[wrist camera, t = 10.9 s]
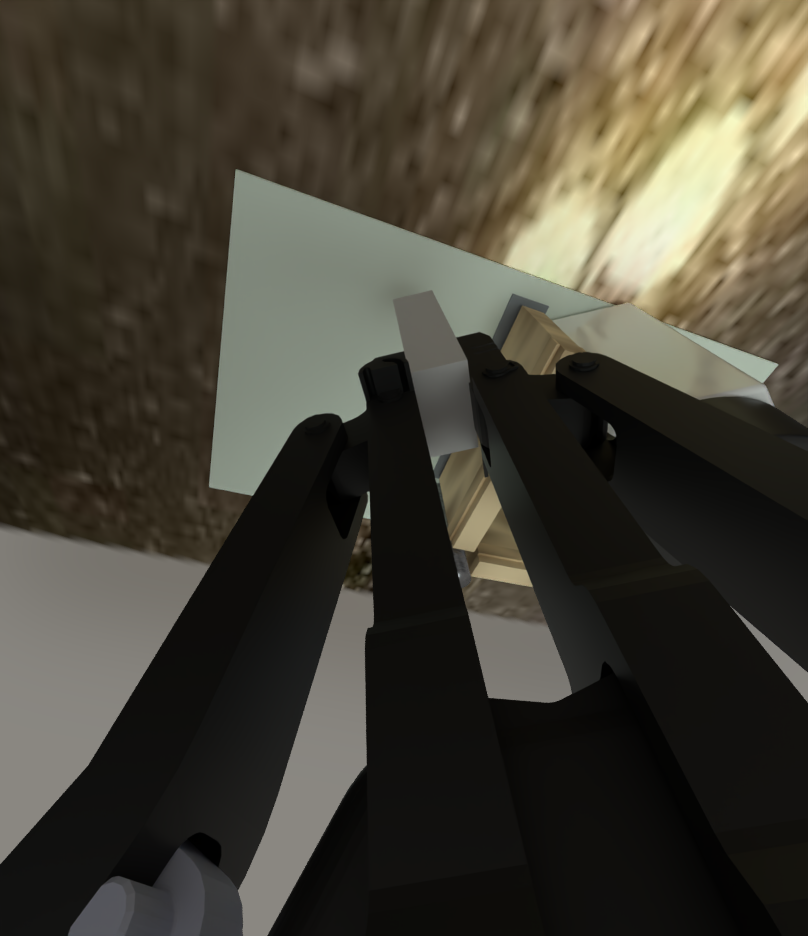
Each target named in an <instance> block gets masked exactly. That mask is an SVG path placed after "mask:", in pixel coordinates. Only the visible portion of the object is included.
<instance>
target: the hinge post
mask: <svg viewBox="0 0 808 936" xmlns="http://www.w3.org/2000/svg"><path fill="white" fill-rule="evenodd" d="M437 487H438V491H439V495H440V500H441V504H442V508H443V512H444V517H445V521H446V525H447V528H448V521H447V516H446V511H445V506H444V501H443V496H442V491H441V486H440V483H437ZM450 542H451V546H452V541H450ZM452 551H453V555H454V559H455V563H456V567H457V572H458V576H459V580H460V584H461V588H463V587H465V586H467V585H468V584H469V583H470V581H471V576H470V571H469V567H468V562H467V558H466V554H465V550H461V549H456V548H453V546H452Z"/></svg>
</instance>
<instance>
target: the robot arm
mask: <svg viewBox="0 0 808 936" xmlns="http://www.w3.org/2000/svg"><path fill="white" fill-rule="evenodd" d="M393 303H394V308H395V312H396V317H397V321H398V326H399V331H400V335H401V340H402V344H403V349H404V351H402V352H398V353H394V354H389V355H385V356H381V357H377V358H374V360H373V361H371V362H369V363H367V364H365V365H364V366H363V367H361V368H360V370H359V372H358V376H359V379H360V383H361V386H362V389H363V393H364V396H365V399H366V411H365V412H364V413H362V414H361V415H359V416H358V417H356V418H354V419H352V420H349V421H347V422H344V423H343V422H342V419H341V418H340V416H339V415H336V414H333V413H323V414H316V415H312V417H311V416H310V417H308V418H306V419H305V420H304V421H302V422H300V423H299V424H298V425H297V426H296V427H295V428H294V429H293V431H292V432H291V434H290V436H289V437H288V439H287V441H286V442H285V444H284V446H283V447H282V449H281V451H280V452H279V454H278V455H277V457H276V459H275V460H274V462H273V464H272V465H271V467H270V469H269V470H268V472H267V473H266V475H265V477H264V478H263V480H262V482H261V483H260V485H259V487H258V488H257V490H256V491H255V493H254V495H253V496H252V498H251V500H250V501H249V503H248V505H247V506H246V508H245V509H244V511H243V513H242V514H241V516H240V518H239V519H238V521H237V523H236V524H235V526H234V528H233V529H232V531H231V532H230V534H229V536H228V537H227V539H226V541H225V542H224V544H223V546H222V547H221V549H220V550H219V552H218V554H217V555H216V557H215V559H214V560H213V562H212V564H211V565H210V567H209V568H208V570H207V572H206V573H205V575H204V577H203V578H202V580H201V582H200V583H199V585H198V586H197V588H196V590H195V591H194V593H193V595H192V596H191V598H190V600H189V601H188V603H187V605H186V606H185V608H184V610H183V611H182V613H181V614H180V616H179V618H178V619H177V621H176V623H175V624H174V626H173V627H172V629H171V631H170V632H169V634H168V636H167V638H166V639H165V641H164V642H163V644H162V646H161V647H160V649H159V650H158V652H157V654H156V655H155V657H154V659H153V660H152V662H151V664H150V665H149V667H148V669H147V670H146V672H145V673H144V675H143V677H142V678H141V680H140V682H139V683H138V685H137V686H136V688H135V690H134V691H133V693H132V695H131V696H130V698H129V700H128V701H127V703H126V704H125V706H124V708H123V709H122V711H121V713H120V715H119V716H118V718H117V719H116V721H115V722H114V724H113V726H112V727H111V729H110V731H109V732H108V734H107V736H106V737H105V739H104V741H103V742H102V744H101V746H100V747H99V749H98V751H97V752H96V754H95V755H94V757H93V759H92V760H91V762H90V763H89V765H88V766H87V767H86V769H85V770H84V771H83V772H82V773H81V774H80V775H79V777H78V778H77V779H76V780H75V781H74V782H73V783H72V785H70V787H69V788H68V789H67V790H66V791H65V792H64V793H63V794H62V796H61V797H60V798H59V799H58V800H57V801H56V802H55V803H54V805H53V806H52V807H51V808H50V809H49V810H48V812H46V814H45V815H44V816H43V817H42V818H41V819H40V820H39V822H38V823H37V824H36V825H35V826H34V827H33V828H32V829H31V831H30V832H29V833H28V834H27V835H26V836H25V837H24V838H23V840H22V841H21V842H20V843H19V844H18V845H17V846H16V847H15V849H14V850H13V851H12V852H11V853H10V854H9V855H8V856H7V858H6V859H5V860H4V861H3V862H2V863H1V864H0V936H243V934H242V933H243V932H242V928H243V917H242V903H241V900H240V896H239V893H238V889H239V887H240V885H241V883H242V881H243V880H244V878H245V876H246V874H247V871H248V869H249V867H250V865H251V862H252V860H253V858H254V855H255V853H256V851H257V849H258V846H259V844H260V842H261V840H262V837H263V835H264V833H265V830H266V827H267V824H268V821H269V818H270V815H271V813H272V810H273V807H274V804H275V801H276V798H277V796H278V792H279V789H280V786H281V783H282V780H283V776H284V773H285V770H286V767H287V763H288V760H289V757H290V754H291V750H292V747H293V744H294V741H295V737H296V734H297V731H298V728H299V724H300V721H301V718H302V715H303V711H304V708H305V705H306V701H307V698H308V695H309V692H310V688H311V685H312V682H313V679H314V676H315V672H316V669H317V666H318V663H319V659H320V656H321V653H322V649H323V646H324V643H325V640H326V636H327V633H328V630H329V626H330V623H331V620H332V617H333V613H334V610H335V607H336V604H337V601H338V597H339V594H340V591H341V588H342V584H343V581H344V578H345V575H346V571H347V568H348V565H349V562H350V558H351V555H352V552H353V549H354V545H355V542H356V539H357V536H358V532H359V529H360V526H361V522H362V519H363V516H364V513H365V509H366V506H367V503H368V494H367V492H370V520H371V547H372V575H373V601H374V625H373V627H371V628H368V629H367V632H366V638H365V639H366V641H365V681H366V742H367V766H366V767H365V768H364V769H363V770H362V771H361V772H360V774H359V775H358V776H357V778H356V779H355V781H354V782H353V783H352V785H351V786H350V788H349V789H348V791H347V792H346V794H345V796H344V798H343V799H342V801H341V803H340V805H339V806H338V809H337V810H336V812H335V814H334V815H333V817H332V819H331V821H330V823H329V825H328V826H327V828H326V830H325V832H324V834H323V836H322V837H321V839H320V841H319V843H318V845H317V847H316V848H315V850H314V852H313V854H312V856H311V857H310V859H309V861H308V863H307V865H306V866H305V868H304V870H303V872H302V874H301V876H300V877H299V879H298V881H297V883H296V885H295V887H294V888H293V890H292V892H291V894H290V896H289V897H288V899H287V901H286V903H285V905H284V906H283V908H282V910H281V913H280V914H279V916H278V917H277V919H276V921H275V923H274V925H273V927H272V928H271V930H270V932H269V934H268V936H808V703H807V701H806V700H805V699H804V698H803V696H802V695H801V694H800V693H799V691H798V690H797V689H796V688H795V686H794V685H793V684H792V683H791V681H790V680H789V679H788V678H787V676H786V675H785V674H784V673H783V671H782V670H781V669H780V668H779V666H778V665H777V664H776V663H775V661H774V660H773V659H772V658H771V657H770V655H769V654H768V653H767V651H766V650H765V649H764V648H763V646H762V645H761V644H760V643H759V642H758V640H757V639H756V638H755V637H754V635H753V634H752V633H751V632H750V631H749V629H748V628H747V627H746V625H745V624H744V623H743V622H742V620H741V619H740V618H739V617H738V615H737V614H736V613H735V612H734V610H733V609H735V610H736V611H737V612H738V613H739V614H740V615H742V616H743V617H744V618H745V619H746V620H747V621H749V622H750V623H751V624H752V625H753V626H754V627H756V628H757V629H758V630H759V631H760V632H761V633H762V634H764V635H765V636H766V637H767V638H768V639H769V640H771V641H772V642H773V643H774V644H775V645H776V646H778V647H779V648H780V649H781V650H782V651H783V652H785V653H786V654H787V655H788V656H789V657H790V658H792V659H793V660H794V661H795V662H796V663H798V664H799V665H800V666H801V667H802V668H803V669H804V670H806V671H807V672H808V451H806V450H804V449H802V448H800V447H798V446H796V445H793V444H791V443H789V442H787V441H785V440H783V439H781V438H779V437H777V436H775V435H772V434H770V433H768V432H766V431H764V430H762V429H760V428H758V427H756V426H753V425H751V424H749V423H747V422H745V421H743V420H741V419H739V418H737V417H735V416H732V415H730V414H728V413H726V412H724V411H722V410H720V409H718V408H716V407H713V406H711V405H709V404H707V403H705V402H703V401H701V400H699V399H697V398H695V397H692V396H690V395H688V394H686V393H684V392H682V391H680V390H678V389H676V388H673V387H671V386H669V385H667V384H665V383H663V382H661V381H659V380H657V379H655V378H652V377H650V376H648V375H646V374H644V373H642V372H640V371H638V370H636V369H633V368H631V367H629V366H627V365H625V364H623V363H621V362H619V361H617V360H615V359H612V358H610V357H608V356H606V355H602V354H599V353H590V352H583V353H581V352H578V353H575V354H572V355H568V356H566V357H564V358H562V359H560V360H559V361H558V362H557V363H556V374H545V375H530V374H528V373H527V372H526V370H525V369H524V368H523V366H522V365H521V364H519V363H518V362H515V361H512V360H506V359H505V357H504V356H503V354H502V353H501V351H500V350H499V349H498V347H497V346H496V344H495V343H494V341H493V340H492V338H491V337H490V336H489V335H486V334H484V333H481V332H477V333H473V334H469V335H464V336H460V337H456V336H455V334H454V332H453V331H452V329H451V327H450V325H449V323H448V321H447V319H446V317H445V315H444V313H443V311H442V309H441V307H440V305H439V303H438V301H437V299H436V297H435V295H434V293H433V291H432V290H430V291H425V292H421V293H417V294H413V295H409V296H405V297H401V298H397V299H393ZM608 423H609V424H610V425H611V426H612V428H613V429H614V431H615V434H616V437H614V436H612V435H611V434H609V433H608V432H607V431H608ZM477 435H478V438H479V440H480V445H481V453H482V461H483V469H484V477H485V478H486V477H488V473H489V476H490V479H491V481H492V484H493V486H494V489H495V491H496V494H497V496H498V499H499V502H500V504H501V507H502V509H503V512H504V514H505V517H506V519H507V522H508V525H509V527H510V530H511V532H512V535H513V537H514V540H515V542H516V545H517V548H518V550H519V553H520V555H521V558H522V560H523V563H524V565H525V568H526V571H527V573H528V576H529V578H530V581H531V583H532V586H533V588H534V591H535V594H536V596H537V599H538V601H539V604H540V606H541V609H542V611H543V614H544V616H545V619H546V622H547V624H548V627H549V629H550V632H551V634H552V636H553V639H554V642H555V645H556V647H557V650H558V652H559V655H560V657H561V660H562V662H563V665H564V668H565V670H566V673H567V676H568V679H569V682H570V686H571V690H572V694H571V695H569V696H567V697H565V698H564V699H562V700H559V701H557V702H552V703H541V702H530V701H518V700H506V699H494V698H488V696H487V691H486V687H485V682H484V678H483V674H482V670H481V666H480V661H479V657H478V653H477V649H476V645H475V640H474V636H473V632H472V628H471V624H470V620H469V615H468V612H467V608H466V605H465V601H464V597H463V593H462V589H461V584H460V580H459V576H458V572H457V567H456V563H455V559H454V555H453V551H452V546H451V542H450V538H449V534H448V529H447V525H446V521H445V517H444V512H443V508H442V504H441V500H440V495H439V491H438V487H437V483H436V479H435V474H434V470H433V466H432V462H431V458H432V457H436V456H441V455H445V454H450V453H454V452H459V451H463V450H468V449H472V448H477V447H479V446H478V439H477ZM645 533H646V534H647V535H649V536H650V537H651V538H652V539H653V540H654V541H655V542H657V543H658V544H659V545H660V546H661V547H662V548H664V549H665V550H666V551H667V552H668V553H669V554H671V555H672V556H673V557H674V558H675V559H676V560H678V561H679V562H680V563H681V564H682V565H678V566H672V565H671V564H669V563H668V562H667V561H666V560H665V559H664V558H663V557H662V556H661V554H660V553H659V551H658V550H657V549H656V547H655V546H654V545H653V543H652V542H651V541H650V539H649V538H648V536H647V535H646V534H645ZM730 606H731V607H732V608H733V609H732V608H731V607H730Z"/></svg>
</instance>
